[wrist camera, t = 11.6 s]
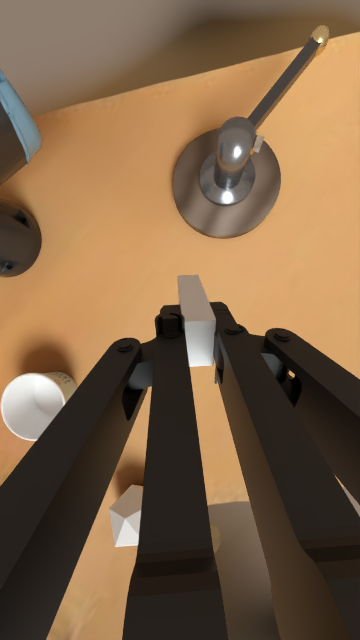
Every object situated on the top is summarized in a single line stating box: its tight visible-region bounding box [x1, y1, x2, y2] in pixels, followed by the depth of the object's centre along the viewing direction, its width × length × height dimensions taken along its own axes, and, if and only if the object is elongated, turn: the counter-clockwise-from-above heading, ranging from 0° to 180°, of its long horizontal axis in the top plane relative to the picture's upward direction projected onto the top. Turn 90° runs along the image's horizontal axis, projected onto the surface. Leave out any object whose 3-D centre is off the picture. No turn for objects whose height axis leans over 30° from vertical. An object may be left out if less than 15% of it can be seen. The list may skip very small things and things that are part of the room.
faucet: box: [199, 25, 329, 207], centre depth 33 cm, size 25×10×9 cm, turn 141°
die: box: [109, 485, 143, 547], centre depth 37 cm, size 8×9×10 cm
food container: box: [1, 372, 77, 441], centre depth 39 cm, size 12×12×6 cm
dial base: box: [173, 128, 281, 239], centre depth 38 cm, size 20×20×4 cm
